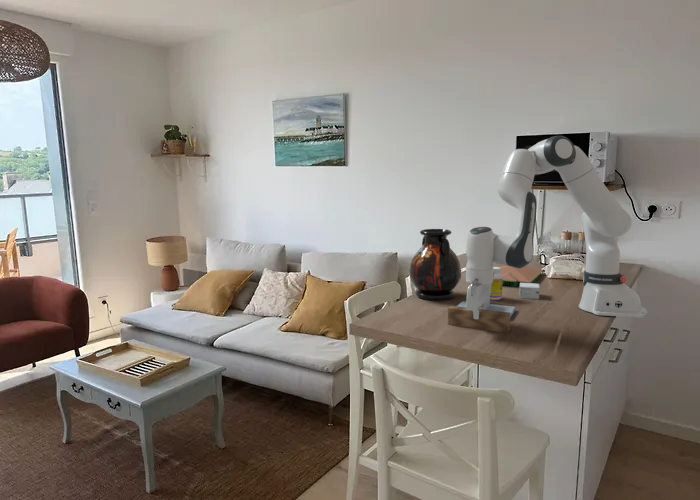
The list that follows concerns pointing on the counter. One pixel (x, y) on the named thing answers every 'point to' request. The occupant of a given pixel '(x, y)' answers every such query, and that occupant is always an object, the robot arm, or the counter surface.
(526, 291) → the small box
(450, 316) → the wooden block
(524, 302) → the counter surface
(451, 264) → the amphora vase
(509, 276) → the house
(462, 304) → the balance stand
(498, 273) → the supplement bottle
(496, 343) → the counter surface
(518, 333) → the counter surface
